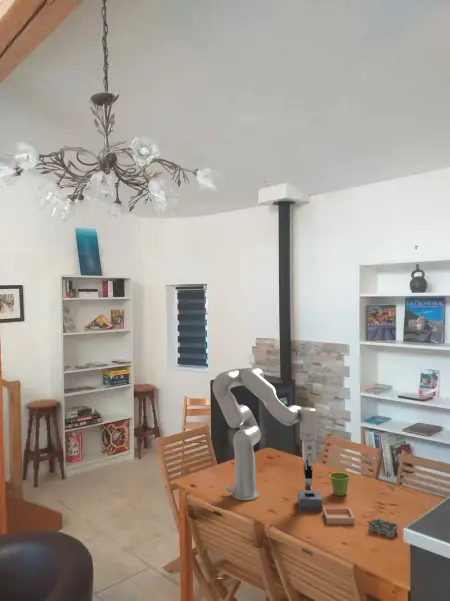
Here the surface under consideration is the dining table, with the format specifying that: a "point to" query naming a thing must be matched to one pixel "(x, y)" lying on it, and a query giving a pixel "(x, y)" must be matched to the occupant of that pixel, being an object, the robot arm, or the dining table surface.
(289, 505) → the dining table surface
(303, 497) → the socket block
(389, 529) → the egg carton
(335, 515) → the tray
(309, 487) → the pin
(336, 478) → the plant pot
